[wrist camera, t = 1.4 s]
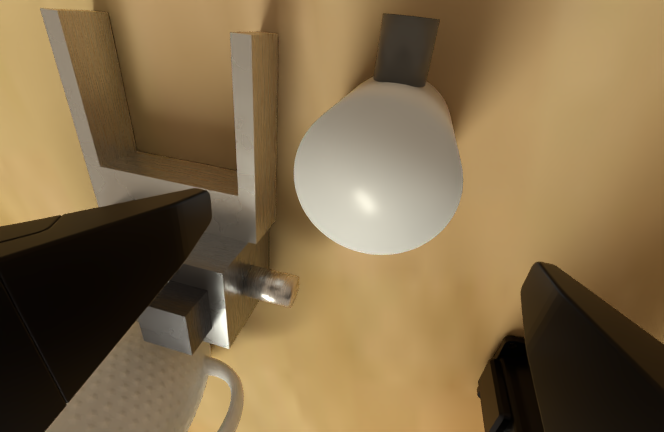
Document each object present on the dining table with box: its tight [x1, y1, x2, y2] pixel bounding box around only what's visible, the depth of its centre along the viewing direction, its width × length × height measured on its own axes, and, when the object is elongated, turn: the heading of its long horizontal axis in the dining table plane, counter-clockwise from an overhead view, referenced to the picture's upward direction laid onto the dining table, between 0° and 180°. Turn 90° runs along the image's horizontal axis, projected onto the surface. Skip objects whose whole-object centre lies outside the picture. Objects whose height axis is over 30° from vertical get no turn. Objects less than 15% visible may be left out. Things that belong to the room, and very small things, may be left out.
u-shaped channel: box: [40, 8, 299, 355], centre depth 19 cm, size 14×17×8 cm
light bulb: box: [294, 14, 463, 255], centre depth 14 cm, size 6×8×7 cm
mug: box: [45, 321, 244, 432], centre depth 26 cm, size 15×11×13 cm
